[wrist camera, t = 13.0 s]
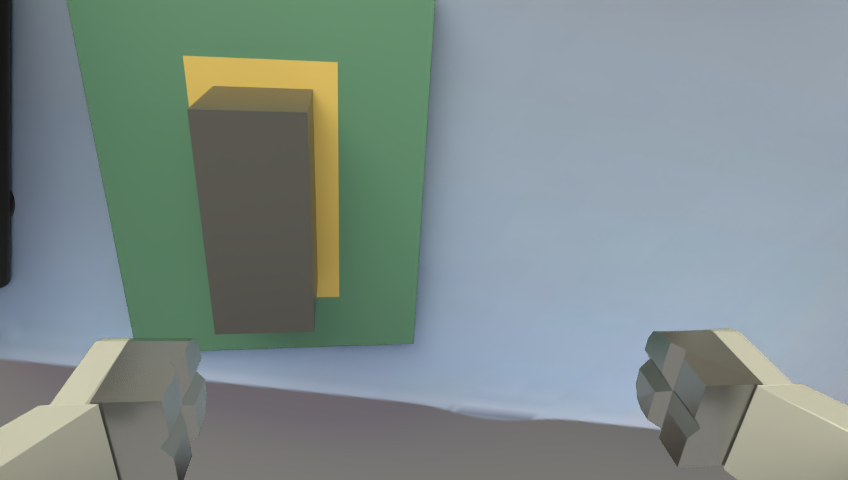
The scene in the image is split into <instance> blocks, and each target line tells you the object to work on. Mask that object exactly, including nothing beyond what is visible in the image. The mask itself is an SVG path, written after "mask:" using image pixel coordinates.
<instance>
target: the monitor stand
mask: <svg viewBox="0 0 848 480" xmlns="http://www.w3.org/2000/svg"><path fill="white" fill-rule="evenodd" d="M14 209H15V201H14V196H13V194H12V192H11V190H10V0H0V288H2V287H4V286H6V285H7V284H8V283H9V281H10V218H11V217H12V215H13V213H14Z"/></svg>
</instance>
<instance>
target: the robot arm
mask: <svg viewBox="0 0 848 480" xmlns="http://www.w3.org/2000/svg"><path fill="white" fill-rule="evenodd" d="M645 351H646V352H647V354H648V356H649V358H650V359H649V360H648V361H647V362H646V363H645V364H644V365H643V366H642V367H641V368H640V369H639V373H638V377H637V381H636V389H637V399H638V402H639V405H640V408H641V410H642V411H643V413H644V415H645V416H646V418H647V419H648V420H649V421H651V422H652V423H654V424H655V425H657V426H658V427H660V428H661V431H660V435H659V439H660V440H661V442H662V444H663V445H664V447H665V448H666V450H667V452H668V453H669V454H670V456H671V458H672V459H673V461H674V463H675V464H676V465H677V467H721V466H722V467H723V466H724V470H726V471H727V472H728V473H730V474H731V475H732V476H733V477H735V478H736V479H737V480H848V406H847V405H845V404H843V403H841V402H839V401H837V400H835V399H832V398H830V397H828V396H826V395H824V394H822V393H820V392H818V391H815V390H813V389H811V388H809V387H807V386H805V385H803V384H793V383H792V382H791V381H790V380H789V379H788V378H787V377H786V376H785V375H784V374H783V373H782V372H780V371H779V370H778V369H777V368H776V367H775V366H774V365H773V364H772V363H771V362H770V361H769V360H768V359H767V358H766V357H765V356H764V355H763V354H762V353H761V352H760V351H759V350H758V349H757V348H756V347H755V346H754V345H753V344H751V343H750V342H749V341H748V340H747V339H746V338H745V337H744V336H743V335H742V334H741V333H740V332H739V331H736V330H734V329H732V328H722V329H705V330H690V331H653V333H652V334H651V335H650V337H649V338H648V341H647V344H646V347H645ZM200 360H201V355H200V350H199V344H198V342H197V341H196V340H195V339H194V338H133V339H132V338H102V339H100V340H98V341H96V342H95V343H94V344H93V345H92V347H91V348H90V349H89V351H88V352H87V354H86V355H85V356H84V358H83V359H82V360H81V362H80V363H79V365H78V366H77V367H76V369H75V370H74V372H73V373H72V374H71V376H70V377H69V379H68V380H67V381H66V383H65V384H64V386H63V387H62V389H61V390H60V391H59V393H58V394H57V395H56V397H55V398H54V400H53V401H52V402H51V404H50V405H42V406H38V407H36V408H34V409H32V410H30V411H29V412H27V413H25V414H23V415H22V416H20V417H18V418H16V419H15V420H13V421H11V422H9V423H7V424H6V425H4V426H2V427H0V480H184V477H185V474H186V471H187V469H188V466H189V463H190V460H191V457H192V454H191V447H190V442H191V441H192V440H193V439H195V438H196V437H197V436H198V435H199V434H200V431H201V428H202V425H203V422H204V416H205V409H206V387H205V379H204V378H203V377H202V376H201V375H199V374H198V373H197V372H196V370H197V368H198V365H199V363H200Z"/></svg>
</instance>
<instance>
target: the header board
mask: <svg viewBox="0 0 848 480" xmlns="http://www.w3.org/2000/svg"><path fill="white" fill-rule="evenodd" d="M67 4H68V9H69V14H70V19H71V24H72V29H73V35H74V40H75V45H76V50H77V55H78V60H79V65H80V70H81V75H82V80H83V85H84V90H85V95H86V100H87V105H88V110H89V115H90V120H91V125H92V130H93V135H94V140H95V146H96V151H97V156H98V161H99V166H100V171H101V176H102V181H103V186H104V191H105V196H106V201H107V206H108V211H109V216H110V221H111V226H112V231H113V236H114V241H115V246H116V251H117V256H118V262H119V267H120V272H121V277H122V282H123V287H124V292H125V297H126V302H127V307H128V312H129V317H130V322H131V327H132V332H133V337H134V338H194V339H195V340H196V341H197V342H198V344H199V350H200V351H209V350H239V349H269V348H299V347H328V346H358V345H388V344H413V343H414V327H415V311H416V295H417V279H418V263H419V247H420V231H421V215H422V199H423V183H424V167H425V151H426V134H427V118H428V102H429V86H430V70H431V54H432V38H433V22H434V6H435V0H67ZM213 86H231V87H260V88H290V89H313V119H314V156H315V194H316V231H317V269H318V285H317V300H316V314H315V329H314V332H287V333H254V334H221V335H215V331H214V323H213V315H212V306H211V298H210V290H209V282H208V274H207V266H206V258H205V250H204V242H203V234H202V225H201V217H200V209H199V201H198V193H197V185H196V177H195V169H194V161H193V152H192V144H191V136H190V128H189V120H188V112H187V109H188V108H189V107H190V106H191V105H192V104H194V103H195V102H196V101H197V100H198V99H199V98H200V97H201V96H202V95H204V94H205V93H206V92H207V91H208V90H209V89H210V88H211V87H213Z"/></svg>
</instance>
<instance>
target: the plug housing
mask: <svg viewBox="0 0 848 480" xmlns="http://www.w3.org/2000/svg"><path fill="white" fill-rule="evenodd" d="M187 112H188V120H189V128H190V136H191V144H192V152H193V161H194V169H195V177H196V185H197V193H198V201H199V209H200V217H201V225H202V234H203V242H204V250H205V258H206V266H207V274H208V282H209V290H210V298H211V306H212V315H213V323H214V331H215V335H221V334H254V333H287V332H314V329H315V314H316V300H317V285H318V269H317V231H316V194H315V156H314V119H313V89H290V88H260V87H231V86H213V87H211V88H210V89H209V90H208V91H207V92H206V93H205V94H204V95H202V96H201V97H200V98H199V99H198V100H197V101H196V102H195V103H194V104H192V105H191V106H190V107H189V108H188V109H187Z"/></svg>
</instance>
